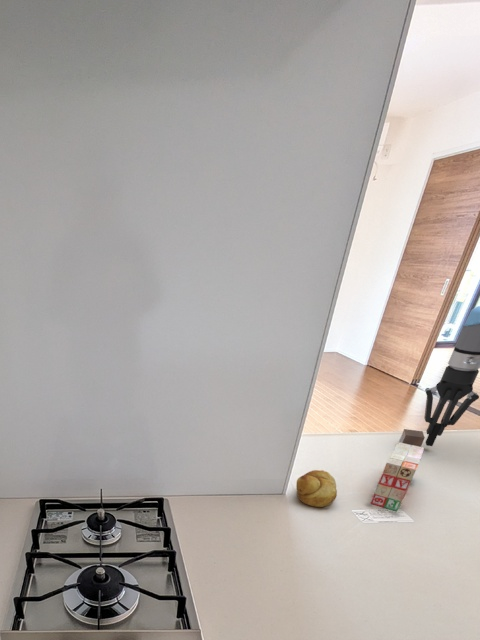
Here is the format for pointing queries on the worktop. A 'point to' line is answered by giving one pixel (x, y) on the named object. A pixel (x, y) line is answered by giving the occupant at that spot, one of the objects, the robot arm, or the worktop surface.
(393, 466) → the stack of blocks
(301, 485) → the bread roll
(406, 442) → the walnut block
